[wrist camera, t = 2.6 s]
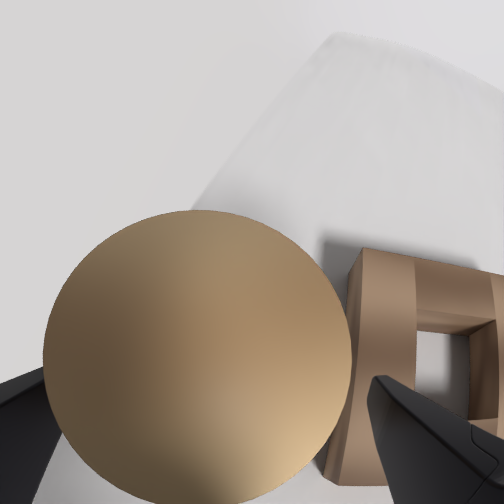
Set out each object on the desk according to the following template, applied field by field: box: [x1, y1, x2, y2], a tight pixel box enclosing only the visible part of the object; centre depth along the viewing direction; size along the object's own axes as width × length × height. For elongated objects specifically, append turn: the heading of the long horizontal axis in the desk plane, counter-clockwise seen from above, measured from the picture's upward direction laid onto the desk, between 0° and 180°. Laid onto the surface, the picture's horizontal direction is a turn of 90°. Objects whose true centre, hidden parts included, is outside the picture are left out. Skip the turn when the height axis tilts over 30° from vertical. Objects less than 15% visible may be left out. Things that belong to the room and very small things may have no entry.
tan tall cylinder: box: [43, 210, 352, 504], centre depth 10 cm, size 4×4×13 cm
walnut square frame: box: [323, 248, 504, 486], centre depth 14 cm, size 12×12×3 cm
